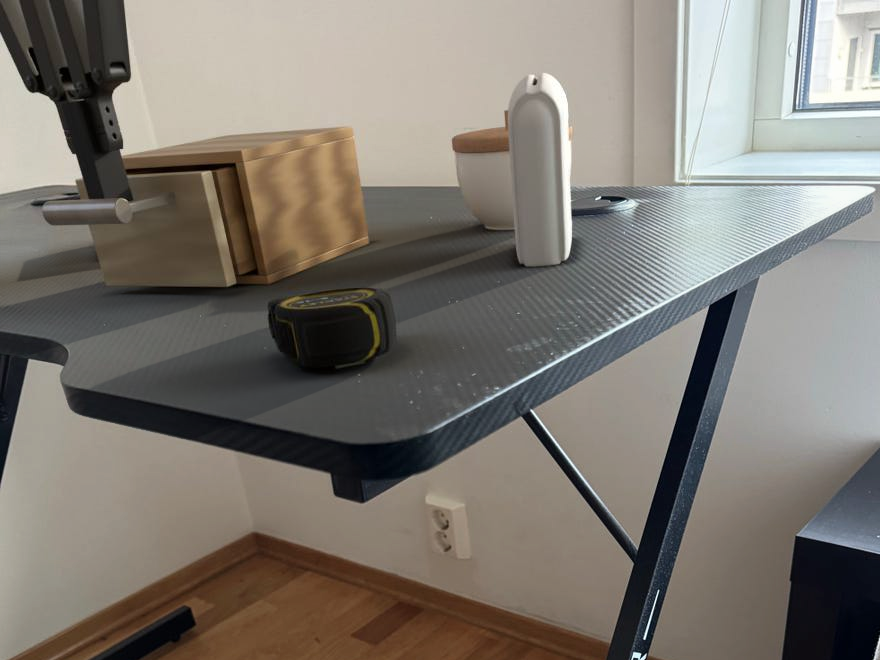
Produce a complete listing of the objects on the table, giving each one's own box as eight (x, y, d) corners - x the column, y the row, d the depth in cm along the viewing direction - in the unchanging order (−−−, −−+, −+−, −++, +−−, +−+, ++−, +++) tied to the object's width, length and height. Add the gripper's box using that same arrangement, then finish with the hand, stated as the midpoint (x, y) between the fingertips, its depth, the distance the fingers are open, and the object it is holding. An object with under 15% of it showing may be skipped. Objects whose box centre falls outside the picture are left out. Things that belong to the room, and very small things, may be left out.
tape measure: (387, 339, 56) (377, 274, 54) (412, 367, 51) (402, 297, 49) (275, 358, 55) (261, 293, 53) (288, 389, 50) (273, 318, 48)
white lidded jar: (473, 218, 92) (464, 110, 87) (581, 211, 89) (578, 100, 84) (448, 240, 83) (436, 121, 78) (567, 232, 81) (562, 109, 76)
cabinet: (269, 286, 73) (241, 150, 68) (139, 285, 79) (104, 159, 73) (369, 245, 85) (352, 126, 79) (250, 246, 90) (227, 135, 85)
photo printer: (522, 244, 78) (512, 73, 71) (573, 240, 77) (568, 67, 71) (513, 271, 69) (500, 79, 63) (570, 267, 69) (563, 73, 62)
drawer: (171, 309, 65) (139, 187, 61) (46, 306, 70) (8, 193, 66) (331, 246, 80) (314, 146, 76) (219, 248, 85) (197, 153, 81)
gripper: (116, -252, 54) (217, 192, 67) (-35, -205, 59) (84, 198, 72) (15, -279, 48) (145, 210, 61) (-143, -224, 54) (8, 216, 66)
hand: (112, 203), depth 67 cm, fingers closed
